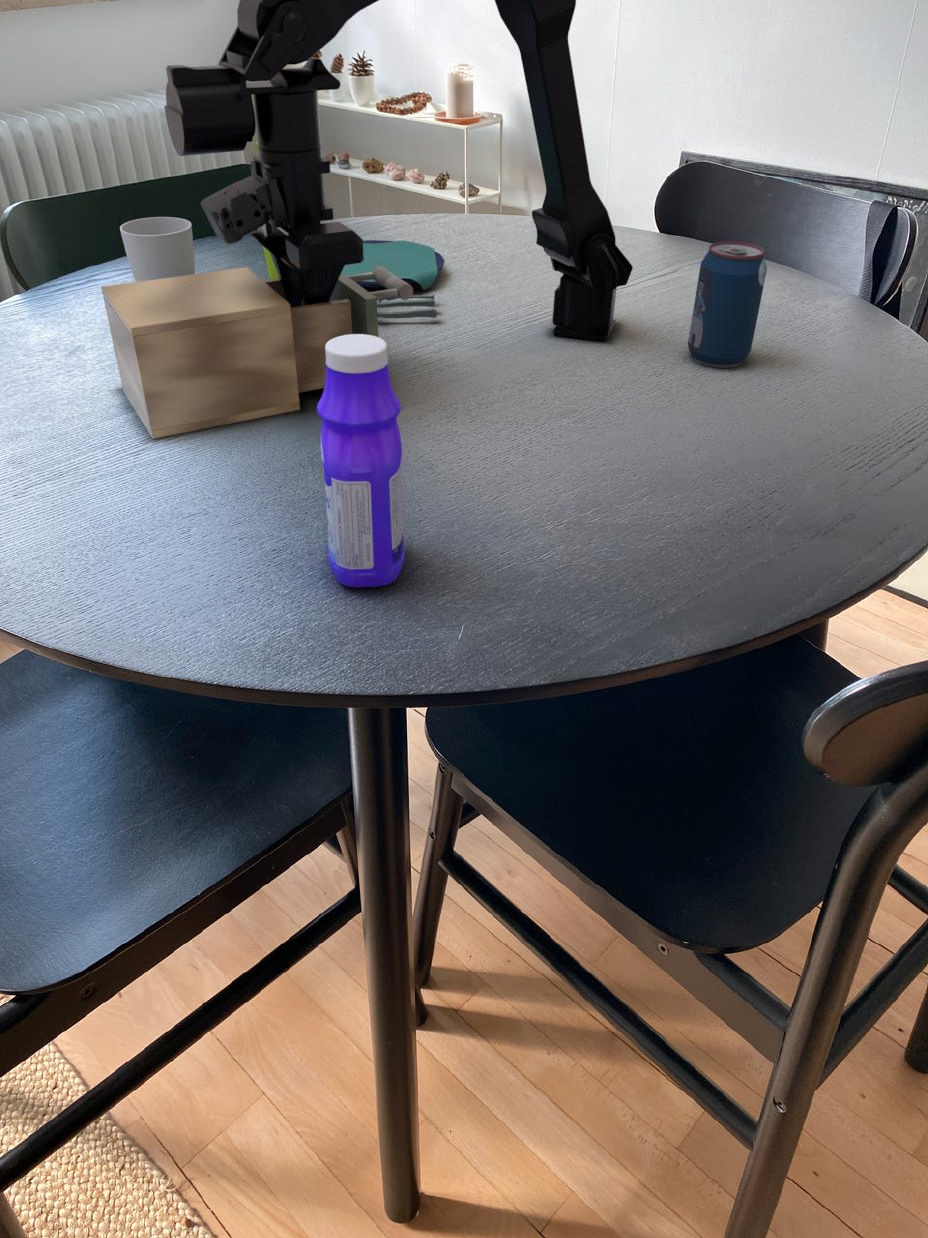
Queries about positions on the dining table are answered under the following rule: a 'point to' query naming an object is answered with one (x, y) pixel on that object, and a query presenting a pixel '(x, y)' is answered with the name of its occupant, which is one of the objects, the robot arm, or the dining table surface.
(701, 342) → the soda can
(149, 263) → the cup
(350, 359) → the bottle
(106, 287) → the wooden drawer box
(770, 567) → the dining table surface
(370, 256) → the cutlery set
